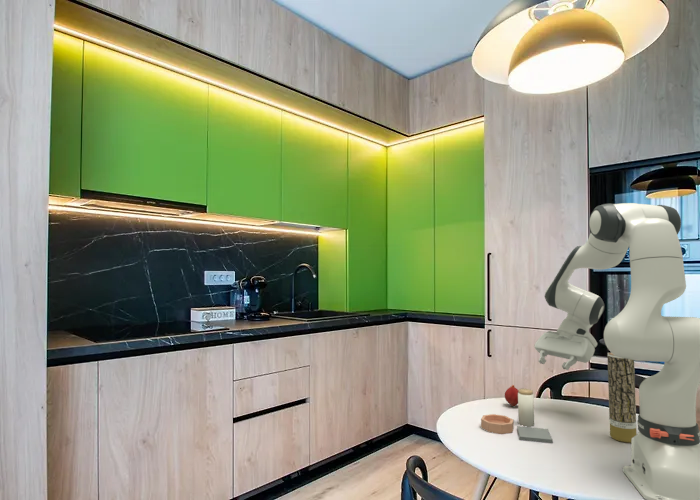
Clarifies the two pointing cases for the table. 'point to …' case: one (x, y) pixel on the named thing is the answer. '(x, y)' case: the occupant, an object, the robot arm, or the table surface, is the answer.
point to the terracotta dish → (497, 423)
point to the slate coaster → (534, 434)
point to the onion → (512, 395)
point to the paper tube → (621, 398)
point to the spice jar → (526, 407)
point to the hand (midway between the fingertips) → (552, 365)
